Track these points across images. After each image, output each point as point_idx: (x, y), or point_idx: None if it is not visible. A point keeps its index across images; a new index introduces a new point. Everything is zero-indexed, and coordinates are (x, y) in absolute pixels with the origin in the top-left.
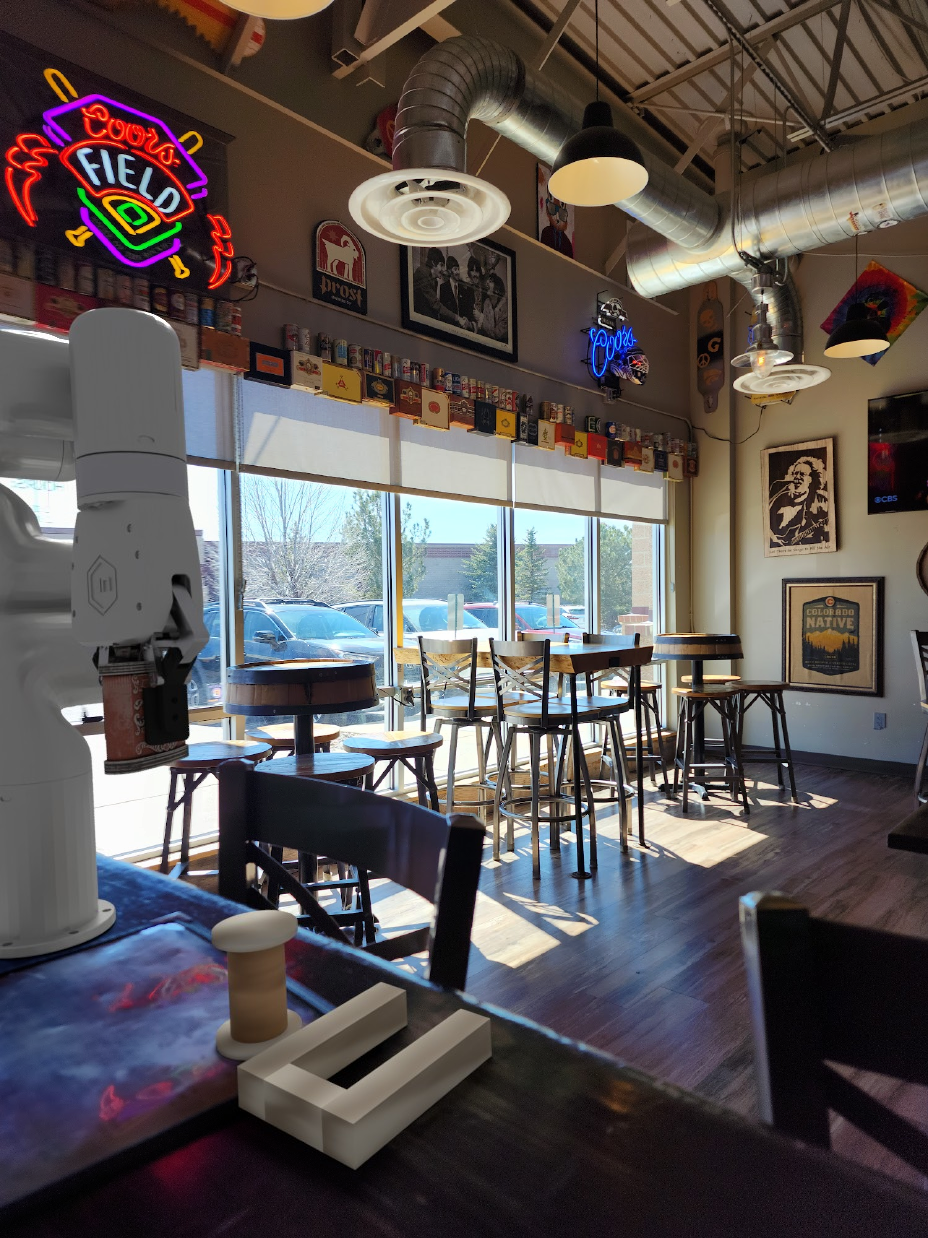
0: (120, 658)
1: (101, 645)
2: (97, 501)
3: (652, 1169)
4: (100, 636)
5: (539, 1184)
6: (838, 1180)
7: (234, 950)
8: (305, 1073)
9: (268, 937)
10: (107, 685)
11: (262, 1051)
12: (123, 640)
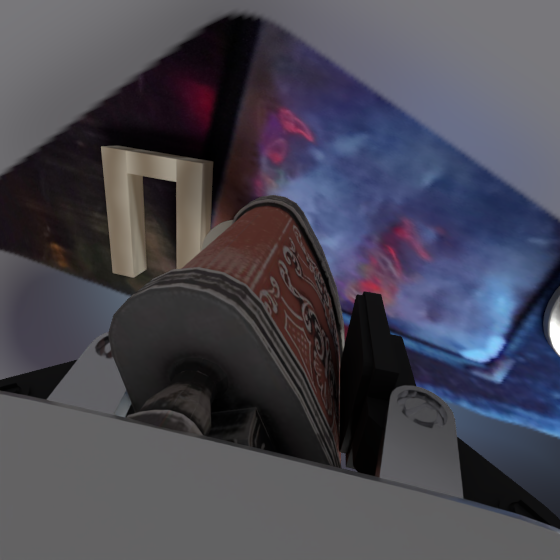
0: (178, 375)
1: (313, 462)
2: None
3: (20, 209)
4: (258, 484)
5: (48, 178)
6: None
7: (226, 221)
8: (159, 176)
9: (207, 242)
10: (208, 261)
11: (238, 212)
12: (45, 402)
